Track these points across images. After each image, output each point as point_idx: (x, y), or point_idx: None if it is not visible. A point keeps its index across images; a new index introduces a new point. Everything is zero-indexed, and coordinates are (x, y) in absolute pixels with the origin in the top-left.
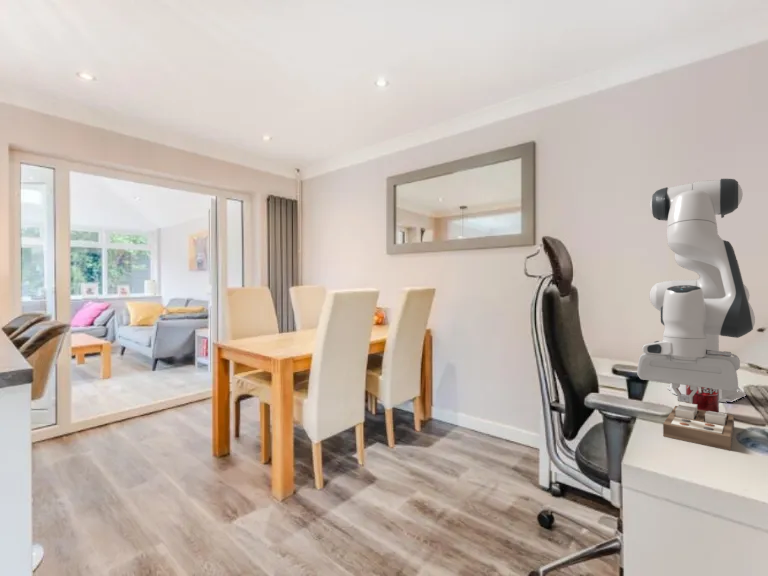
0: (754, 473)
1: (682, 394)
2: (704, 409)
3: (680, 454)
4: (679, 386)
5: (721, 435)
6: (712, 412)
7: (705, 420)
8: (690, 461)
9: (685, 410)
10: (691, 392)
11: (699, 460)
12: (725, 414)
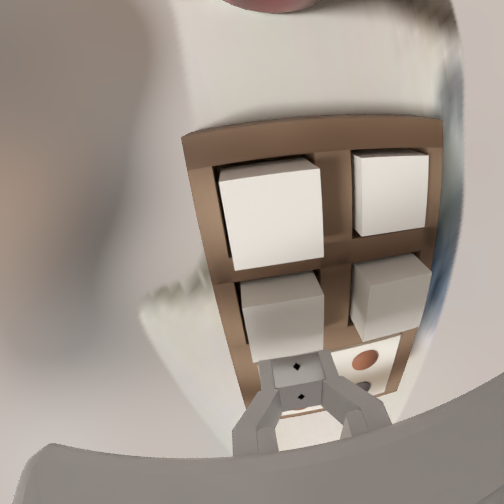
0: (395, 413)
1: (286, 393)
2: (301, 3)
3: (301, 435)
4: (275, 436)
5: (380, 395)
6: (391, 289)
7: (355, 324)
8: (317, 441)
9: (291, 349)
10: (341, 423)
11: (329, 432)
12: (425, 170)
